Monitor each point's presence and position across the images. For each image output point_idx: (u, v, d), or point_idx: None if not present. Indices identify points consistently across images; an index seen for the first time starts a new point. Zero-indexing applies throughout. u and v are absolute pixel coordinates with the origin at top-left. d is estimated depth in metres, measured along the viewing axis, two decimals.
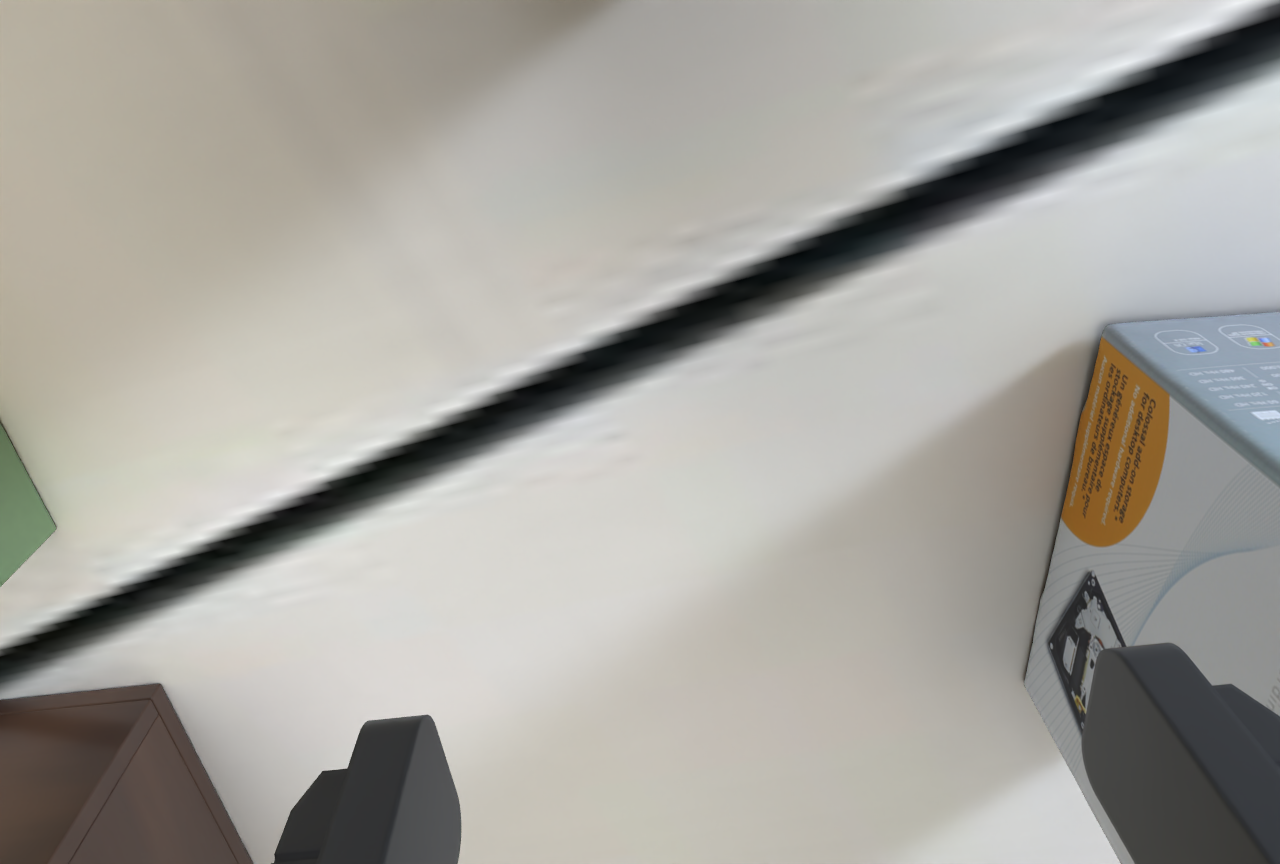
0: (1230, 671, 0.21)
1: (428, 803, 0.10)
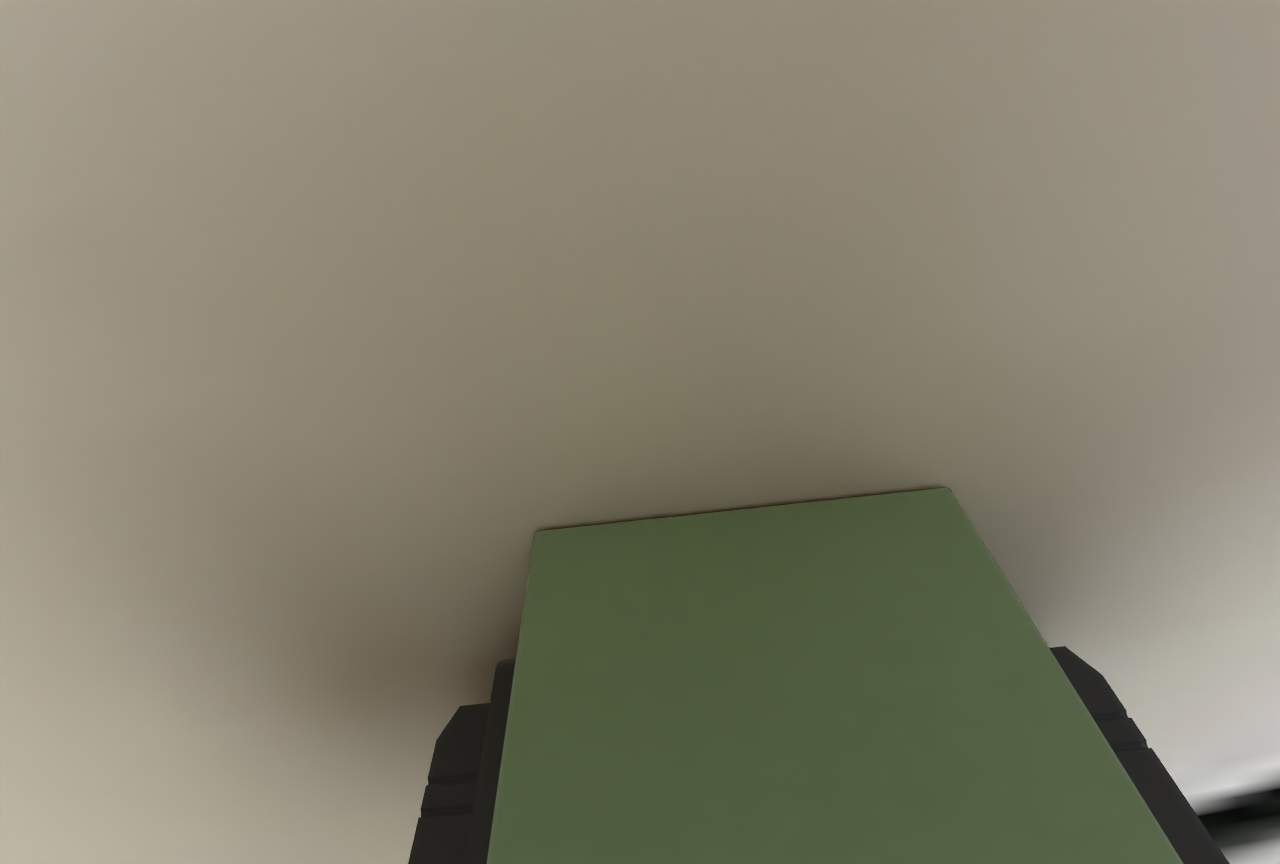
0: None
1: None
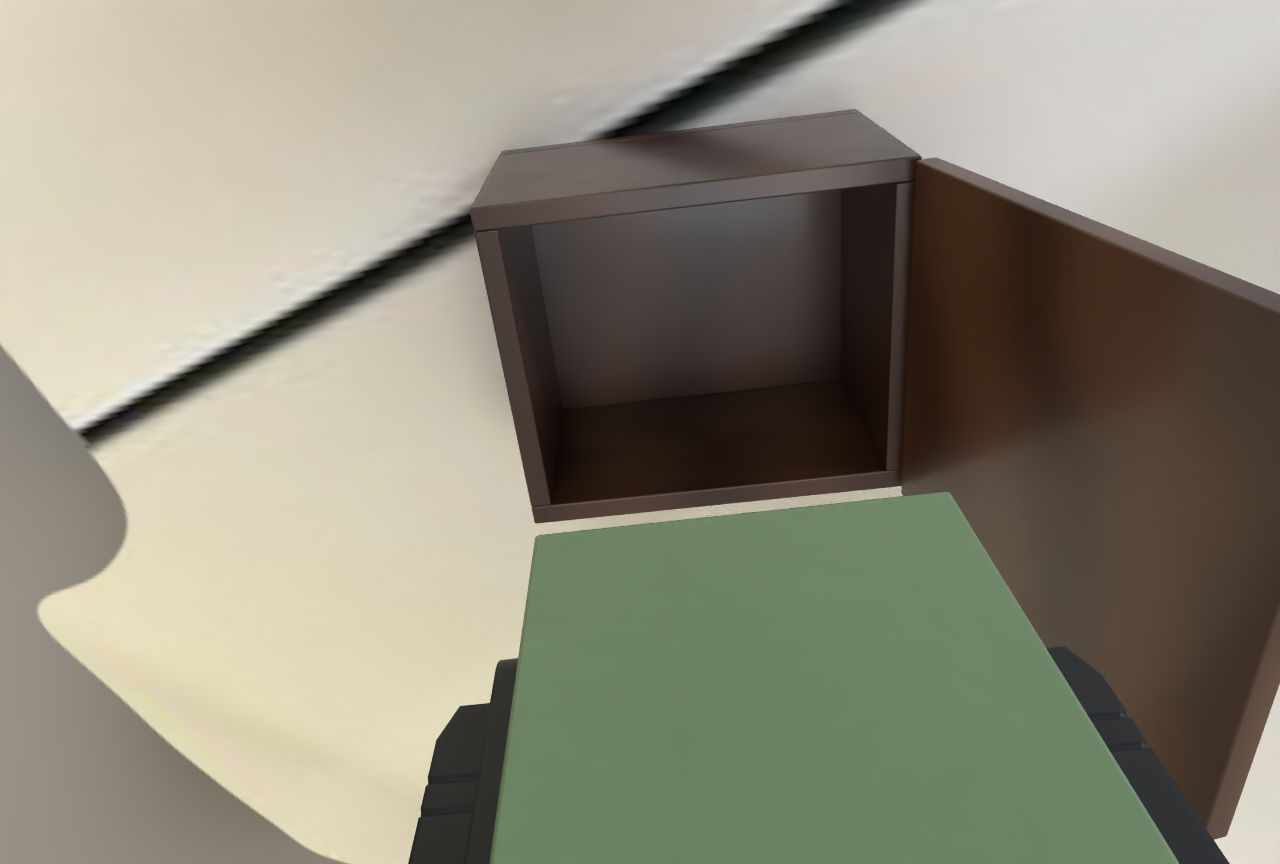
0: None
1: None
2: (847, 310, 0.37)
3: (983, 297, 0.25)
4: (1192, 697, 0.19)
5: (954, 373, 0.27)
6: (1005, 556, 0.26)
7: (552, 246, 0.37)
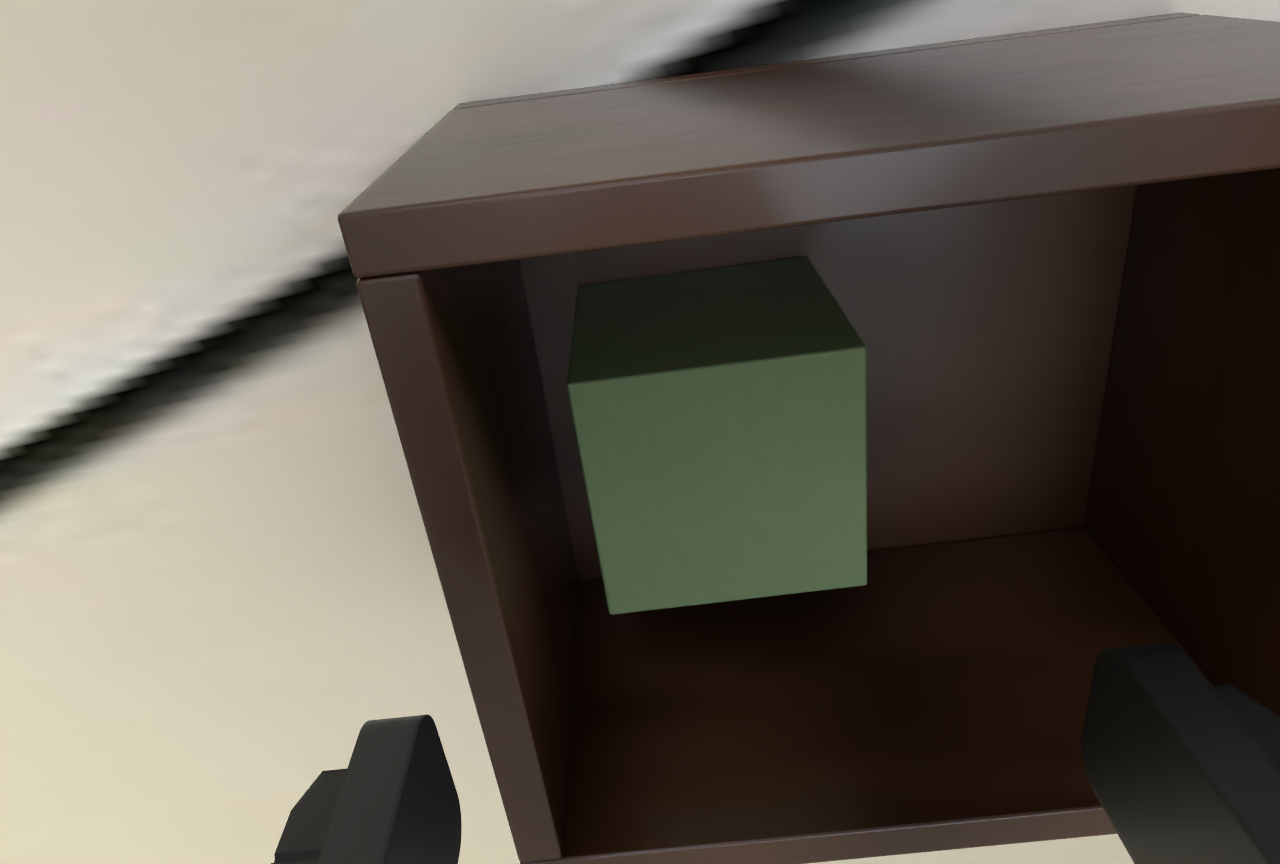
0: None
1: (428, 803, 0.10)
2: (1135, 413, 0.19)
3: None
4: None
5: None
6: None
7: (560, 293, 0.19)
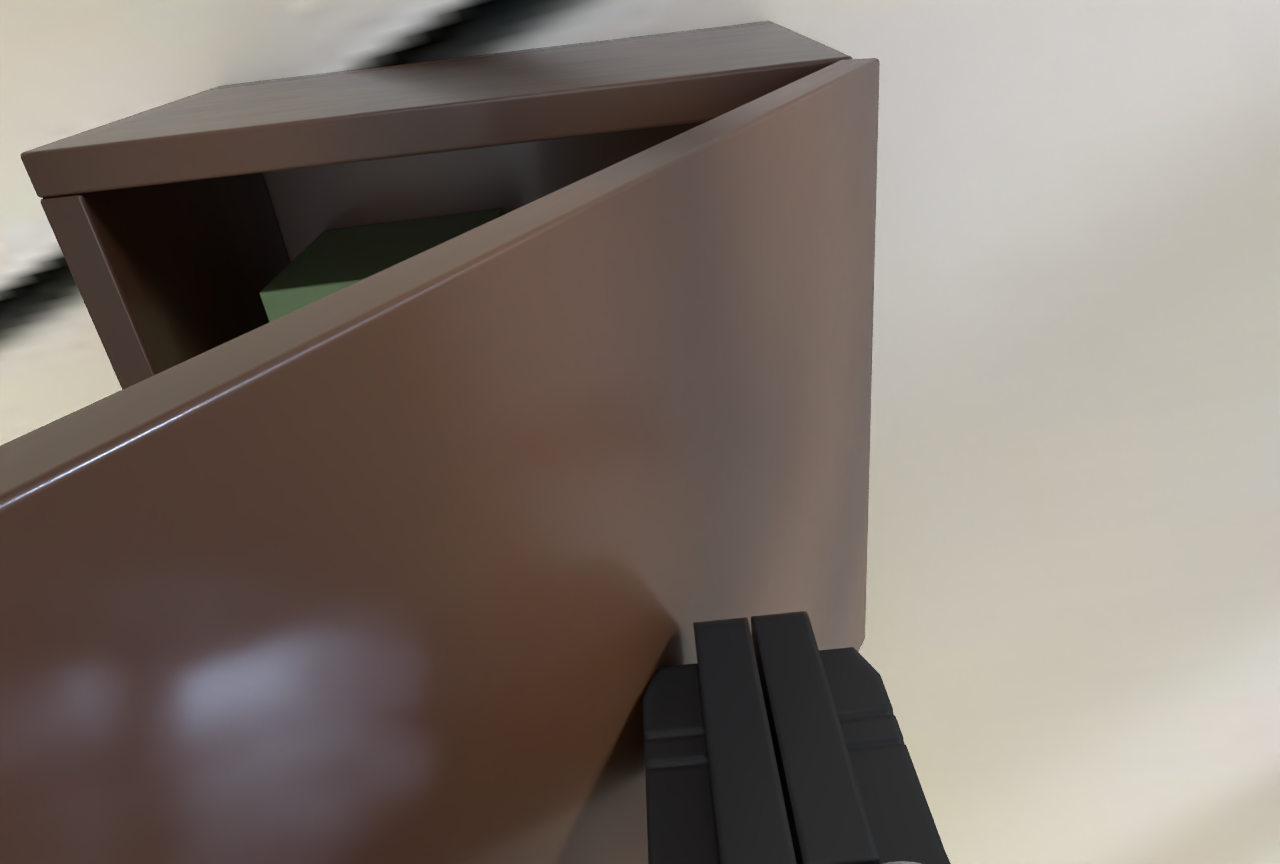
0: None
1: None
2: None
3: None
4: None
5: None
6: None
7: (310, 236, 0.24)
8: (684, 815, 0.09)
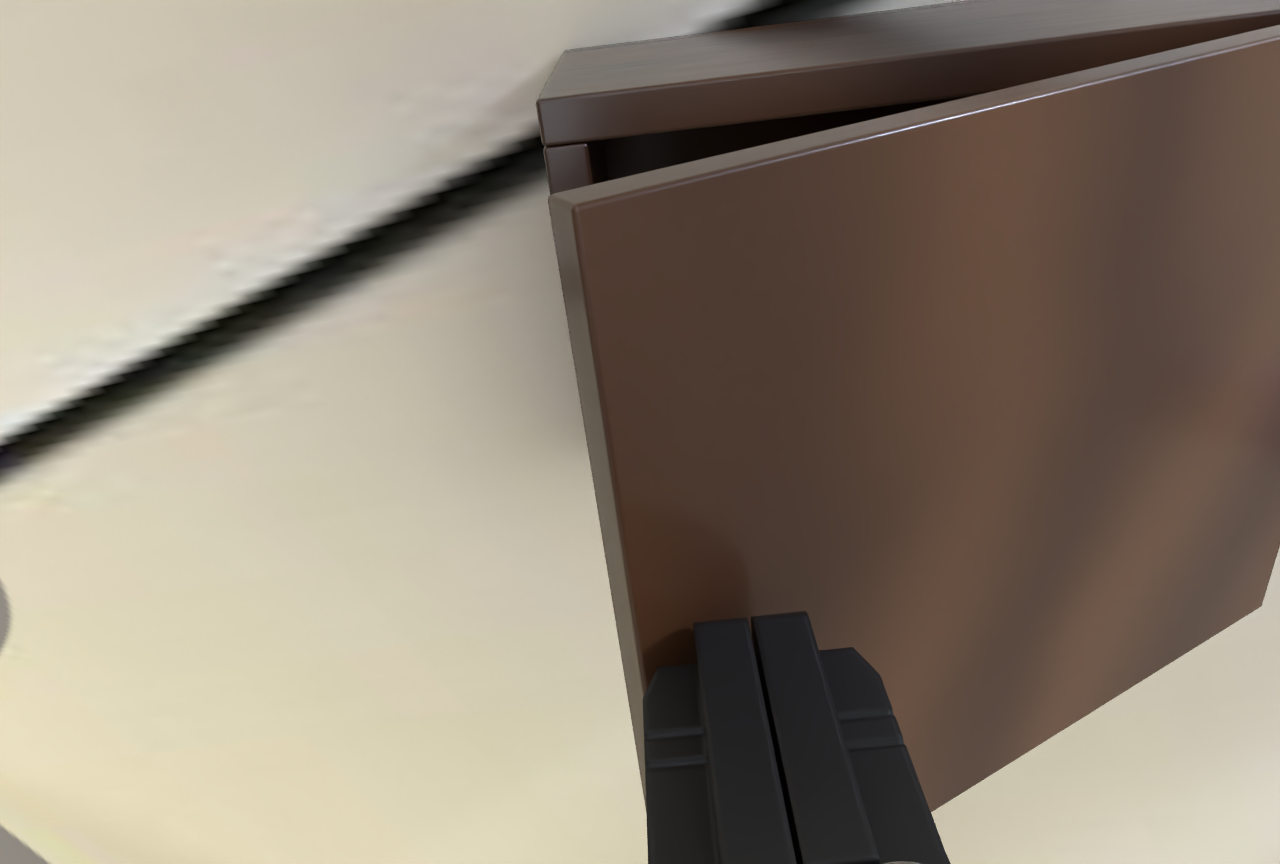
0: None
1: None
2: None
3: None
4: None
5: None
6: None
7: None
8: (684, 814, 0.09)
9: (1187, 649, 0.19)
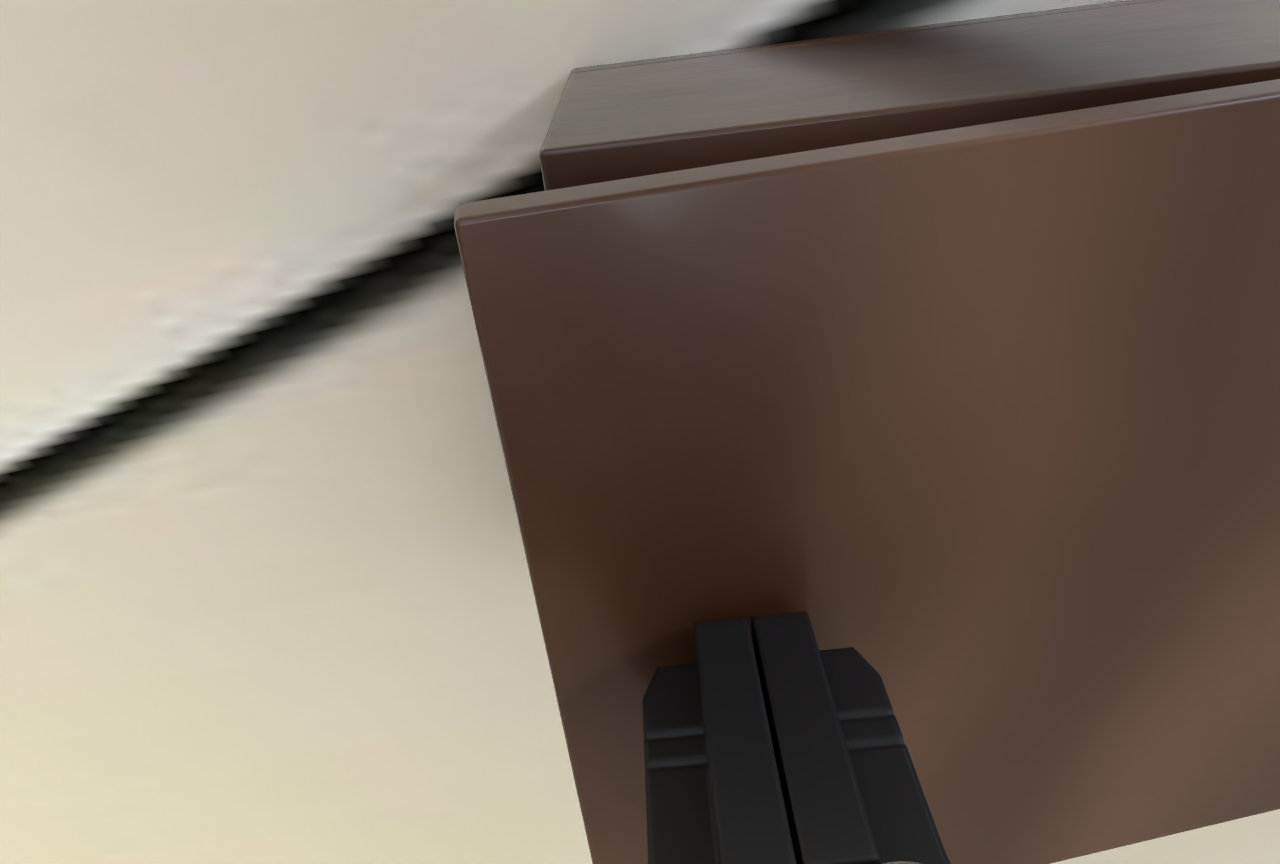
0: None
1: None
2: None
3: None
4: None
5: None
6: None
7: None
8: (685, 815, 0.09)
9: None
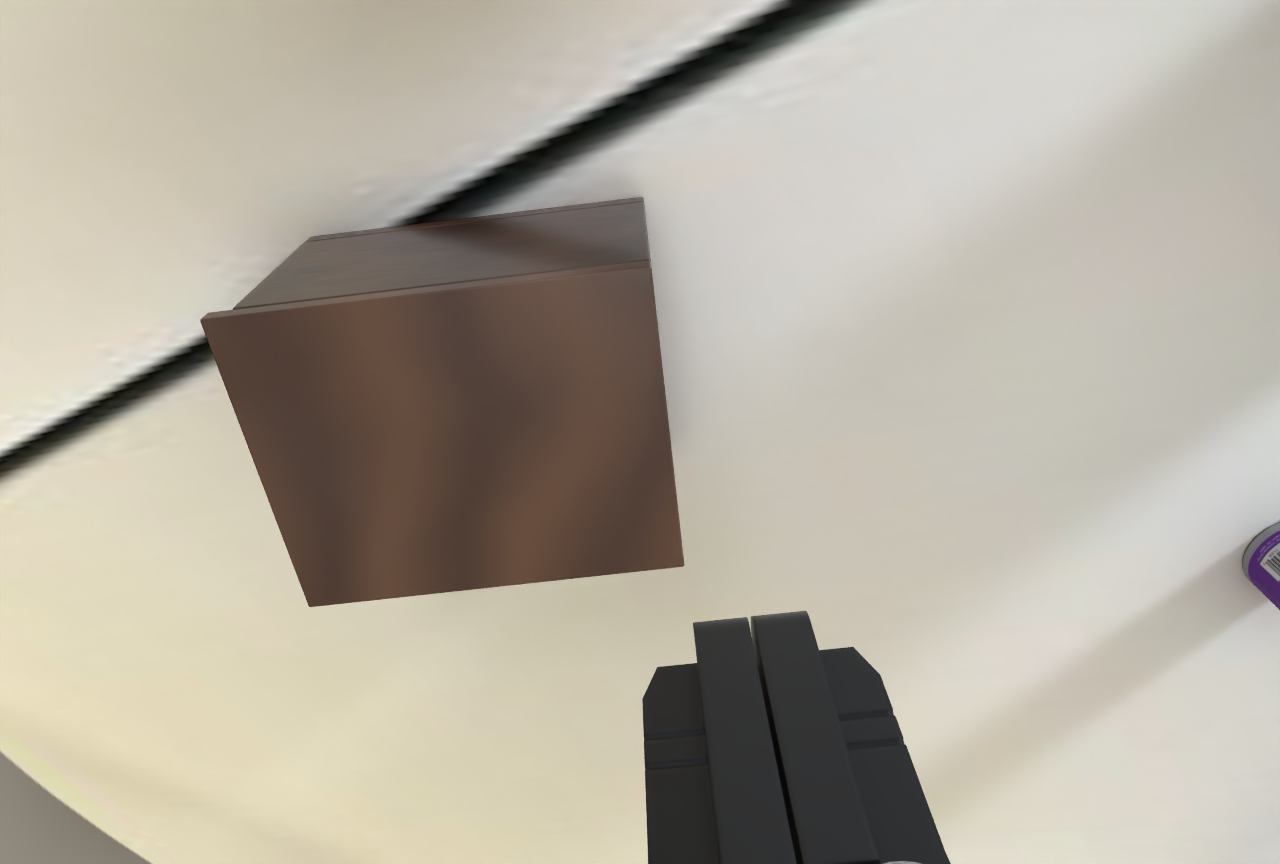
0: None
1: None
2: None
3: None
4: None
5: None
6: None
7: None
8: (684, 814, 0.09)
9: (617, 571, 0.35)
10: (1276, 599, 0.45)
